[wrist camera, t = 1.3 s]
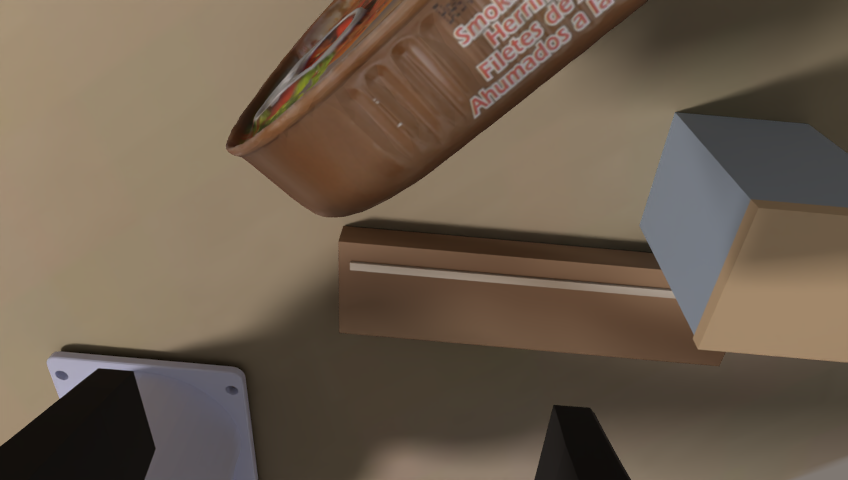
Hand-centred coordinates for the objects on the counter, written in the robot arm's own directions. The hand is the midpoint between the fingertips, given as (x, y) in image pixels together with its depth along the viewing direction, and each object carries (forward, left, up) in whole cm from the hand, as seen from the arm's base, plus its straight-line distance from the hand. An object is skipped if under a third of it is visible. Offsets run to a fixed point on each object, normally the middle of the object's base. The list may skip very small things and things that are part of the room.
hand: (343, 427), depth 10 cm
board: (-4, -5, -11) cm, 13 cm away
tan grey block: (+1, -10, -11) cm, 15 cm away
